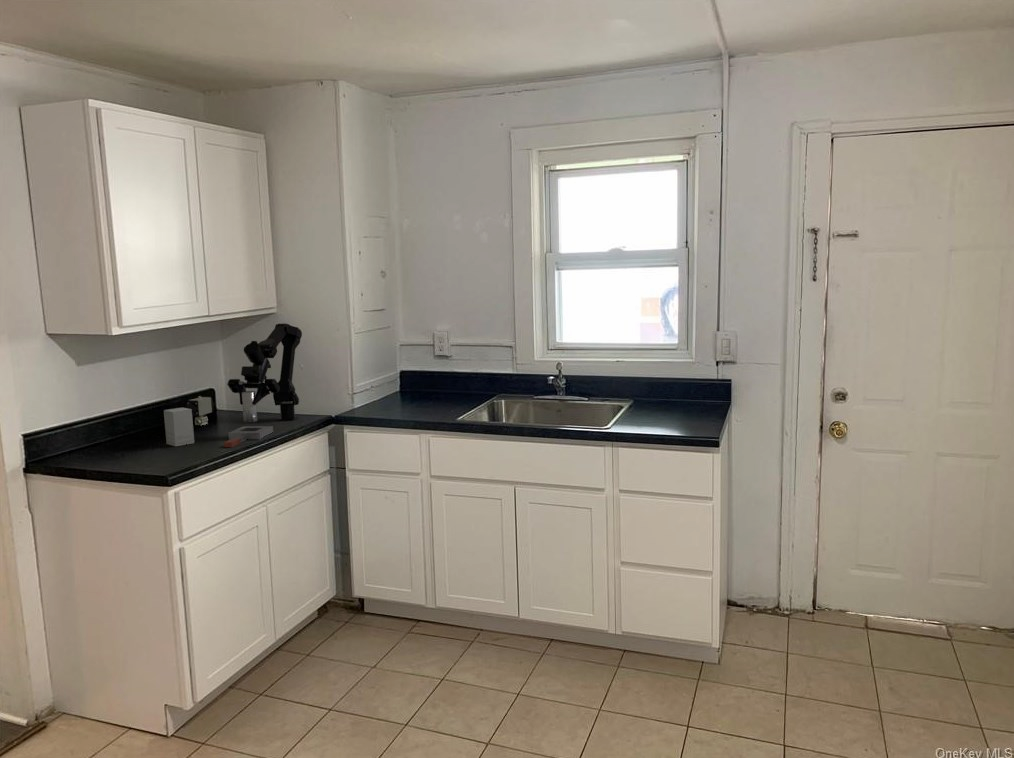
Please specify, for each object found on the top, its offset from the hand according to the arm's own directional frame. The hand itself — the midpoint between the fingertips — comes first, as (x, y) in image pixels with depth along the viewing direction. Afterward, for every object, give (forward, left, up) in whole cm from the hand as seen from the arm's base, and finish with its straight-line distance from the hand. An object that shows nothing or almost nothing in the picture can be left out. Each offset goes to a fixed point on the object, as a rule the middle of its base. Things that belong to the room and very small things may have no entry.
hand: (247, 404), depth 292 cm
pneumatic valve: (-22, -31, -13) cm, 40 cm away
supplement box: (+12, -21, -13) cm, 27 cm away
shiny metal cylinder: (-1, 0, -7) cm, 7 cm away
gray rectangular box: (+5, 0, -12) cm, 13 cm away
